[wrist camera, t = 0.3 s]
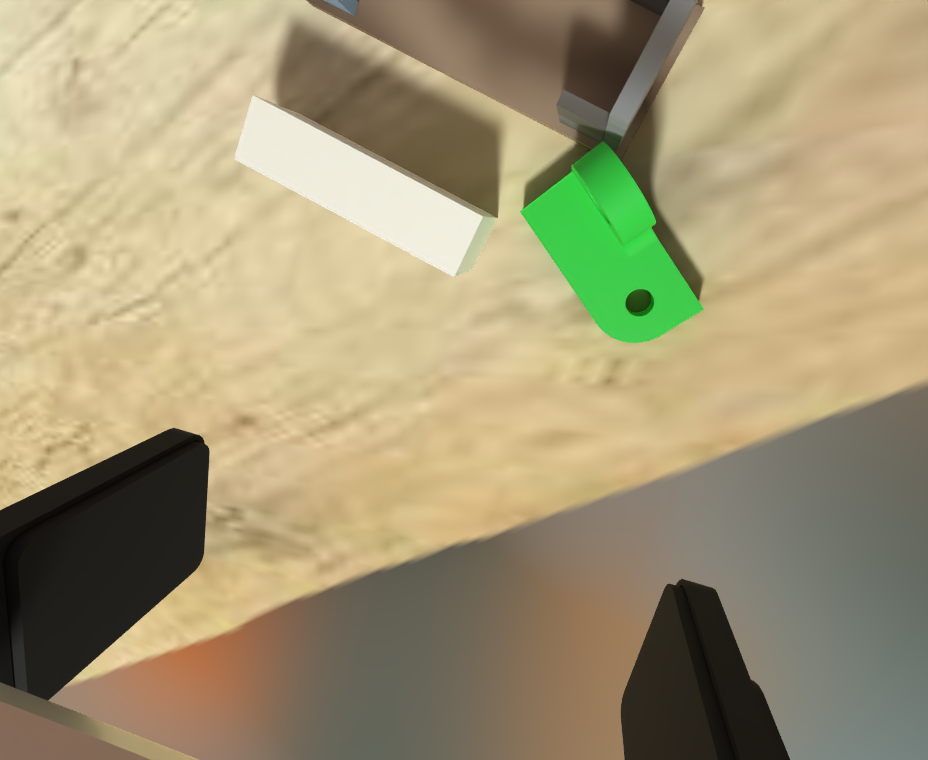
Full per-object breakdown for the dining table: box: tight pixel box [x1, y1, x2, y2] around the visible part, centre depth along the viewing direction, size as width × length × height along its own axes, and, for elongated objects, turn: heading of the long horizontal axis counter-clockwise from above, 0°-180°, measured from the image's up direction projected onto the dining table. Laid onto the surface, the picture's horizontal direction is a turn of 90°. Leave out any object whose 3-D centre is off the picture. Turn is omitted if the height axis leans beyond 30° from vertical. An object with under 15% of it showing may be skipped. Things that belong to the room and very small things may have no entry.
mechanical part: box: [520, 141, 704, 343], centre depth 32 cm, size 12×6×8 cm, turn 37°
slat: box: [234, 95, 498, 277], centre depth 35 cm, size 4×16×6 cm, turn 63°
